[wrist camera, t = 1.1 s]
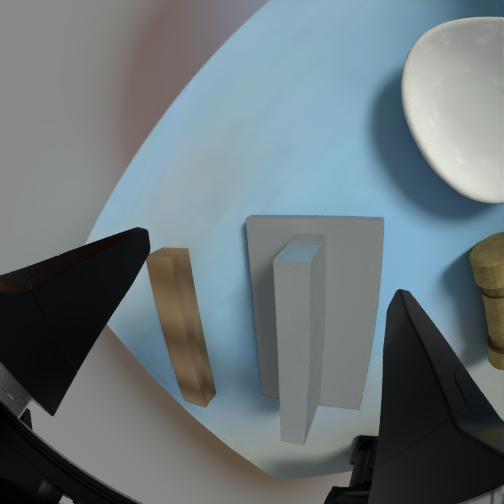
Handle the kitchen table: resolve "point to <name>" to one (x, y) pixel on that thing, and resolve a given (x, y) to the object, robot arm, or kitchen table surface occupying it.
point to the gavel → (491, 292)
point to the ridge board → (337, 298)
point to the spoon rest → (459, 104)
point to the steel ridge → (300, 330)
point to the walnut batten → (181, 322)
